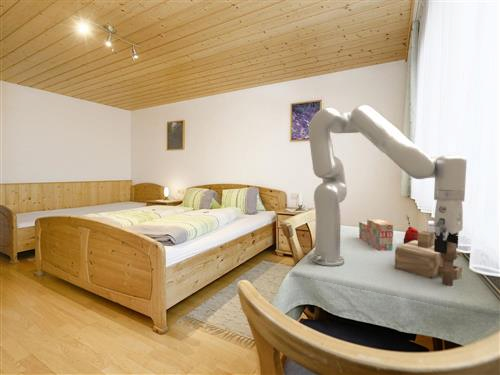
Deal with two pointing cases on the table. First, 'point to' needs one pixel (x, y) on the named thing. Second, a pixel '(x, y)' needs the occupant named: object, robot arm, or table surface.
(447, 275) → the wooden bottle
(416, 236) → the red clay folk toy
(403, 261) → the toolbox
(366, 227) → the stack of blocks
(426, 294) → the table surface
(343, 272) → the table surface
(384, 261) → the table surface
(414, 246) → the lid
